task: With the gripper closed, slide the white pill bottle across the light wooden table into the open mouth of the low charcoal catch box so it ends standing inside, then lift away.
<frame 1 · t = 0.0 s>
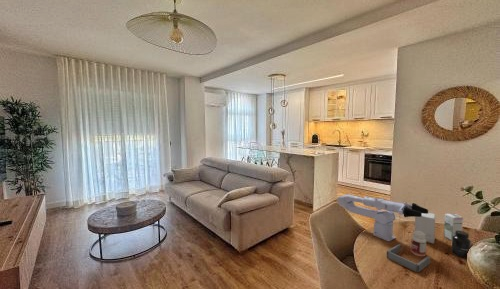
hand: (424, 213, 111), 22 cm above the table, tool horizontal, fingers open, 7 cm apart
supplement bottle: (460, 254, 110), on the table
catch box: (408, 260, 106), on the table
pill bottle: (418, 253, 112), on the table
supplement box: (424, 238, 127), on the table
syrup box: (452, 239, 125), on the table
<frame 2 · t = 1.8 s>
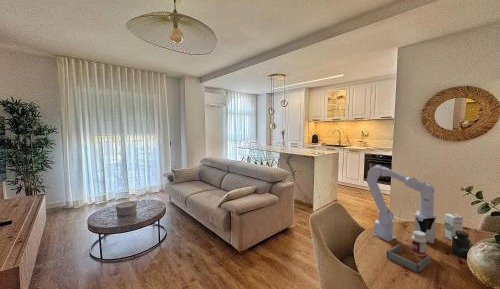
hand: (425, 230, 115), 10 cm above the table, tool pointing down, fingers open, 5 cm apart
nothing on the table moved.
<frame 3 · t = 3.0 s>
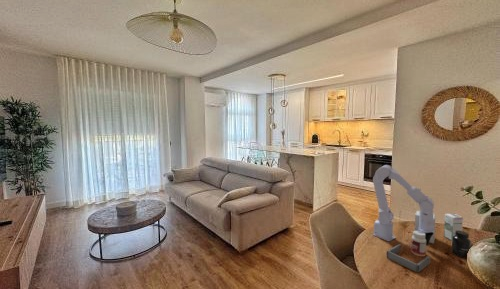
hand: (425, 244, 116), 3 cm above the table, tool pointing down, fingers closed
nothing on the table moved.
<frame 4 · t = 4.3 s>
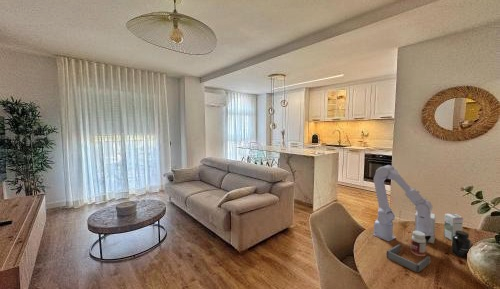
hand: (422, 247, 114), 1 cm above the table, tool pointing down, fingers closed
pill bottle: (418, 253, 112), on the table, touching gripper
everything else where it was.
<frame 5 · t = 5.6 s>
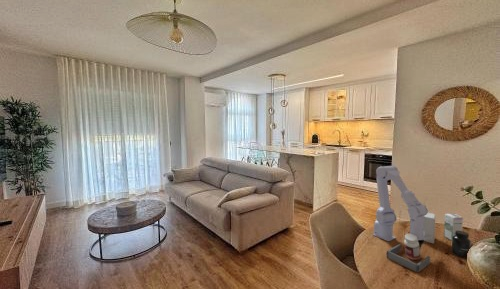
hand: (416, 252, 110), 1 cm above the table, tool pointing down, fingers closed
pill bottle: (413, 255, 109), point 1 cm above the table, touching gripper
everything else where it was.
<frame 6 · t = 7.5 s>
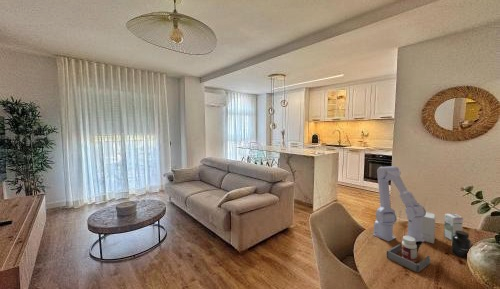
hand: (413, 253, 109), 1 cm above the table, tool pointing down, fingers closed
pill bottle: (409, 259, 107), on the table, touching gripper
everything else where it was.
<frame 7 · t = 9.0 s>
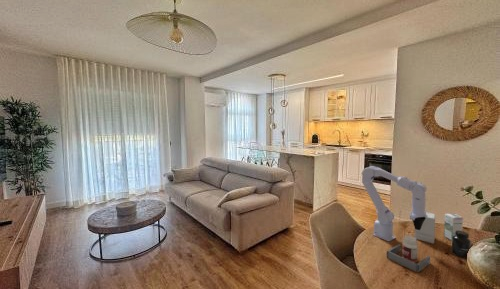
hand: (417, 229, 117), 10 cm above the table, tool pointing down, fingers closed
pill bottle: (409, 259, 107), on the table
everything else where it was.
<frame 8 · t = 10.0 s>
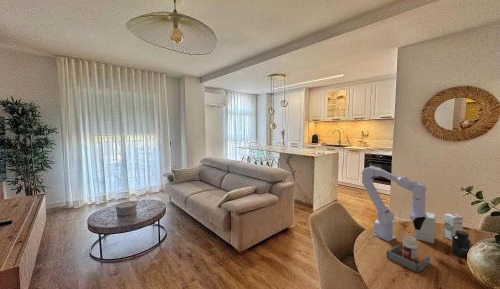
hand: (417, 229, 117), 10 cm above the table, tool pointing down, fingers closed
nothing on the table moved.
at the end: pill bottle inside the target area (1.6 cm from its centre), on the table; pill bottle tilted 0°; the gripper is holding nothing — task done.
